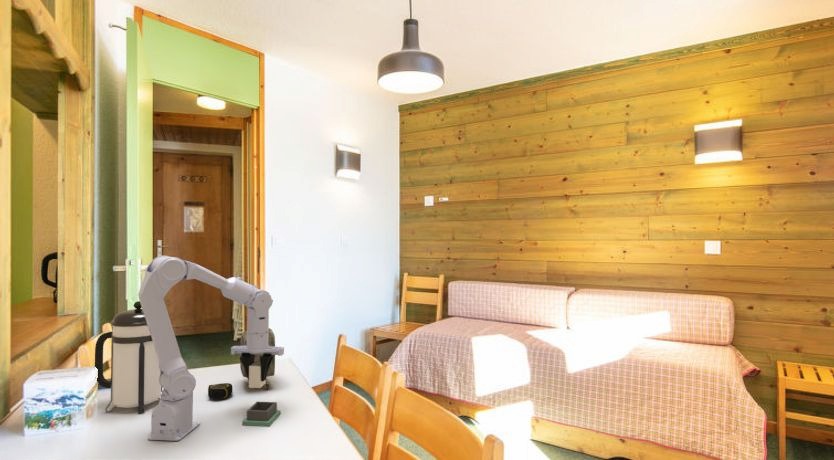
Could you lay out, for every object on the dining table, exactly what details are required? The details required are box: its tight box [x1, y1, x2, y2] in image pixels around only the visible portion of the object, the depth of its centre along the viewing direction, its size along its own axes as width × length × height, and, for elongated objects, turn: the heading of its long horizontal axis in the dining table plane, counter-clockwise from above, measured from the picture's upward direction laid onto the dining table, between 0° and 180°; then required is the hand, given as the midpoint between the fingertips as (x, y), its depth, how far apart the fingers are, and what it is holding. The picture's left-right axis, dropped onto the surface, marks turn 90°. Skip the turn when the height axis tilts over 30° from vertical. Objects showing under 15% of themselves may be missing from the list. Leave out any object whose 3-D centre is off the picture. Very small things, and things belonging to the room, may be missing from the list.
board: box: [241, 401, 282, 427], centre depth 120 cm, size 8×7×4 cm
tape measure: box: [207, 382, 233, 400], centre depth 135 cm, size 7×7×4 cm
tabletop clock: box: [239, 328, 276, 390], centre depth 146 cm, size 14×9×25 cm, turn 27°
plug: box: [248, 361, 267, 389], centre depth 126 cm, size 4×3×7 cm
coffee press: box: [94, 300, 163, 415], centre depth 128 cm, size 17×16×30 cm
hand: (257, 379), depth 126 cm, fingers closed on plug, 3 cm apart
